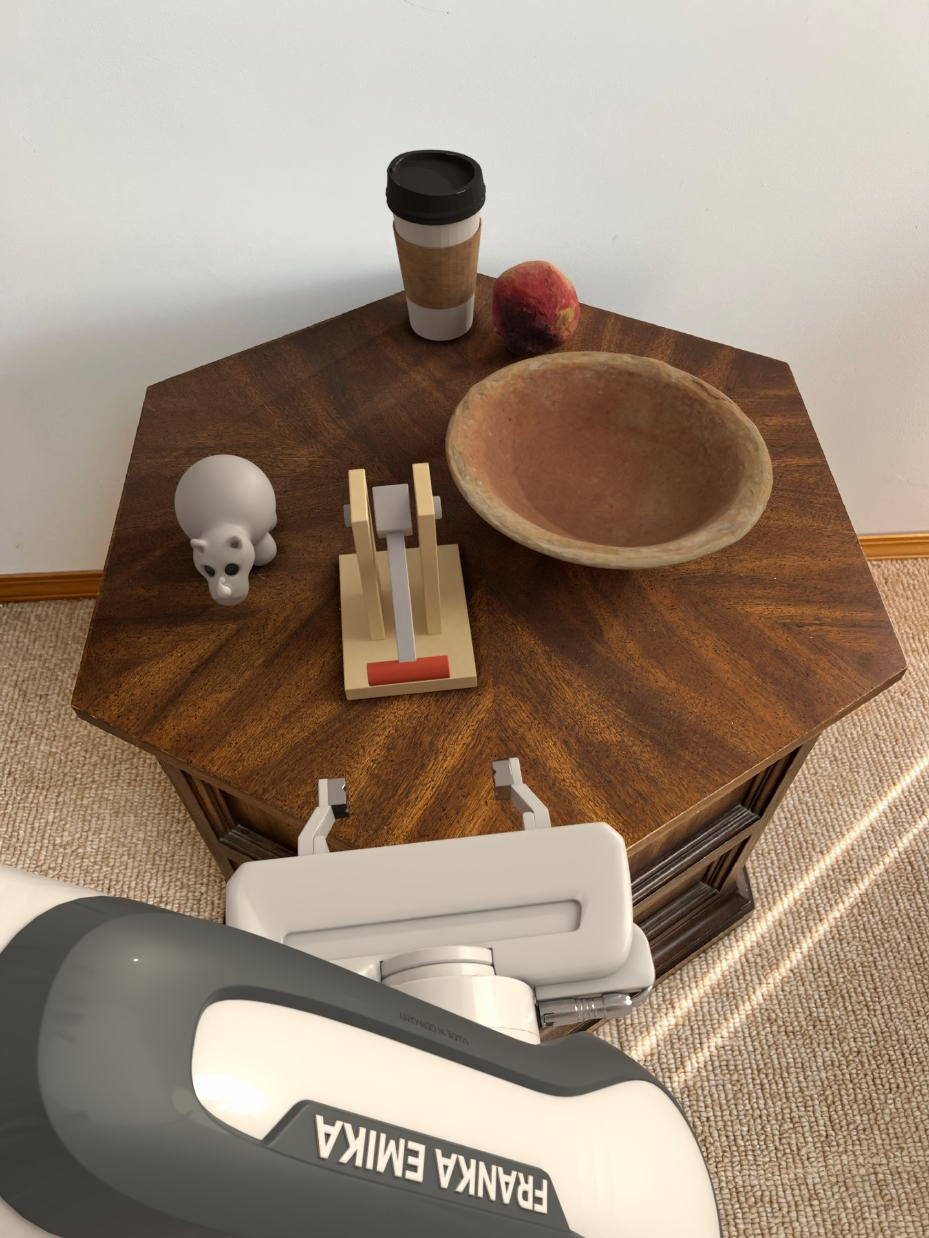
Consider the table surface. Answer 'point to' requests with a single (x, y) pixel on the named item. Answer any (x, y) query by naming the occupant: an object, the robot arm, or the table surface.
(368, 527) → the wooden lever stand
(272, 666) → the table surface
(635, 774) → the table surface
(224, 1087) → the robot arm
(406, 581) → the lever
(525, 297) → the fruit
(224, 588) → the chubby cartoon animal
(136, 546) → the table surface
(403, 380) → the table surface
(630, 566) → the bowl
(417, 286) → the coffee cup
